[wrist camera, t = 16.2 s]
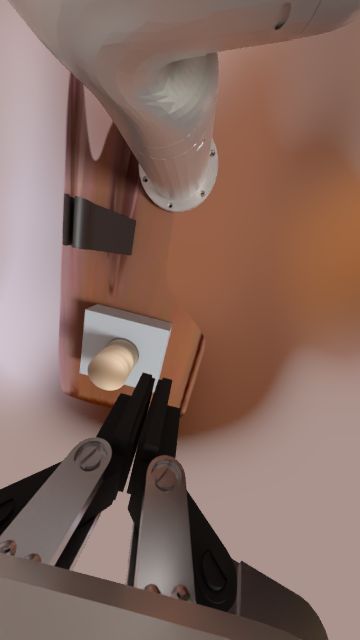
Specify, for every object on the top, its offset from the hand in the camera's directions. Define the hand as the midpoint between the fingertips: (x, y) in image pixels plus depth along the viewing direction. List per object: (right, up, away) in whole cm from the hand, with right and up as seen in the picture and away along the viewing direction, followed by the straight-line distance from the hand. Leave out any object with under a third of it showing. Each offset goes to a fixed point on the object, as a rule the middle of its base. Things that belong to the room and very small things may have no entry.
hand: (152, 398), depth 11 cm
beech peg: (-9, -1, +31) cm, 33 cm away
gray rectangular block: (-9, -1, +32) cm, 33 cm away
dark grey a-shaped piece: (-11, +20, +25) cm, 34 cm away
